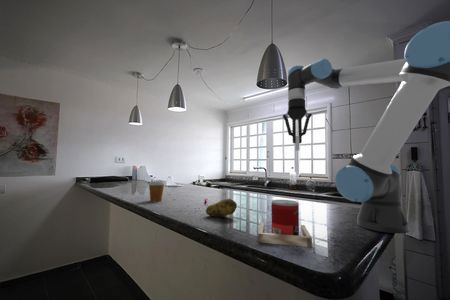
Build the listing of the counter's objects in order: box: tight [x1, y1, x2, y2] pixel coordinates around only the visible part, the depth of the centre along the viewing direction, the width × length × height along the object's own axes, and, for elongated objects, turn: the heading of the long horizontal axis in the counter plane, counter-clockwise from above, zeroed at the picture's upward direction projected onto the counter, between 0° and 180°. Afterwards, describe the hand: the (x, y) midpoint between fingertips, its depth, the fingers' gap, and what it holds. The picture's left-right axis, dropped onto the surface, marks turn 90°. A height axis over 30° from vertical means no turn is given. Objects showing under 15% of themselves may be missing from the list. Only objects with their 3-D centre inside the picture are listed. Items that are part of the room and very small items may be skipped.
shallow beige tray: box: [257, 221, 313, 248], centre depth 64 cm, size 14×13×2 cm
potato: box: [205, 198, 238, 218], centre depth 88 cm, size 8×13×8 cm, turn 52°
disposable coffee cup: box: [148, 180, 165, 202], centre depth 126 cm, size 10×10×12 cm
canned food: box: [270, 199, 300, 236], centre depth 63 cm, size 8×8×11 cm
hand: (297, 150), depth 95 cm, fingers closed
